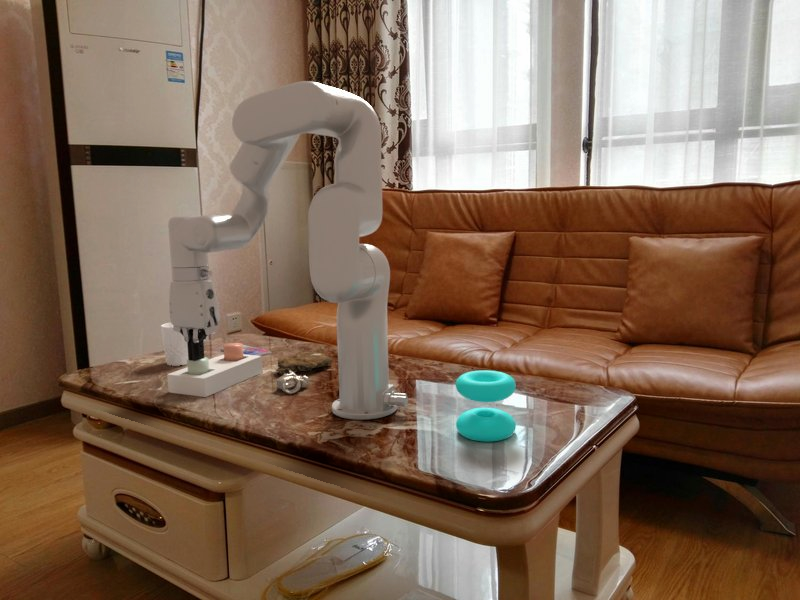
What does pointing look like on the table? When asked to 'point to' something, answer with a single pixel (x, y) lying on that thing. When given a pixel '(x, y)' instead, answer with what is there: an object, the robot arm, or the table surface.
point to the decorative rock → (302, 362)
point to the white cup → (174, 346)
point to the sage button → (198, 366)
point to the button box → (215, 376)
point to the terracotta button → (233, 352)
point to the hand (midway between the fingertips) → (196, 359)
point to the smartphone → (254, 351)
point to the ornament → (291, 382)
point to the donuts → (485, 420)
